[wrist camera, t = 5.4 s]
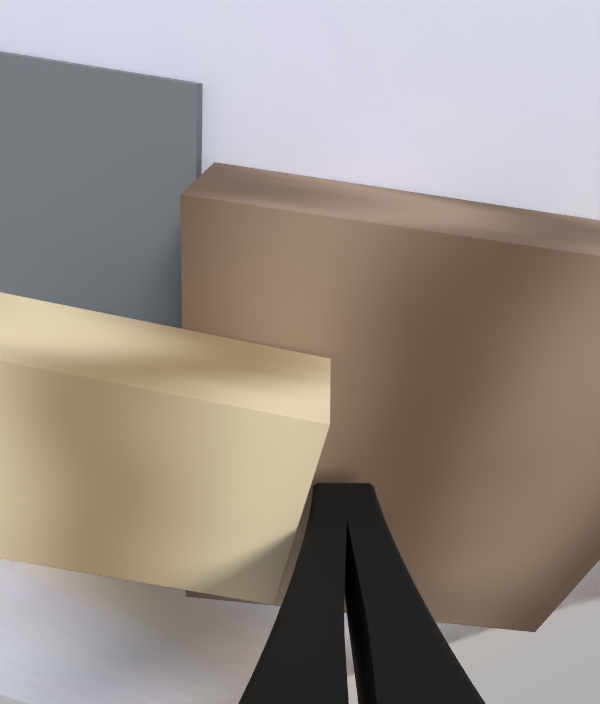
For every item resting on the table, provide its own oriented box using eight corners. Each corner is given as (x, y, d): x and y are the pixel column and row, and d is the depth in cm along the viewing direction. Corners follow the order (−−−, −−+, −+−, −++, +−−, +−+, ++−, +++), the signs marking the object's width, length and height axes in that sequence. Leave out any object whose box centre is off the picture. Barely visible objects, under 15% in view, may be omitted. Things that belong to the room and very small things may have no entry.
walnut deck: (713, 237, 11) (838, 291, 8) (503, 551, 18) (534, 632, 15) (214, 162, 10) (180, 194, 7) (204, 518, 17) (185, 596, 14)
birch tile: (330, 358, 9) (329, 424, 7) (281, 531, 12) (272, 604, 11) (-14, 289, 9) (-98, 341, 7) (29, 486, 12) (-21, 555, 10)
